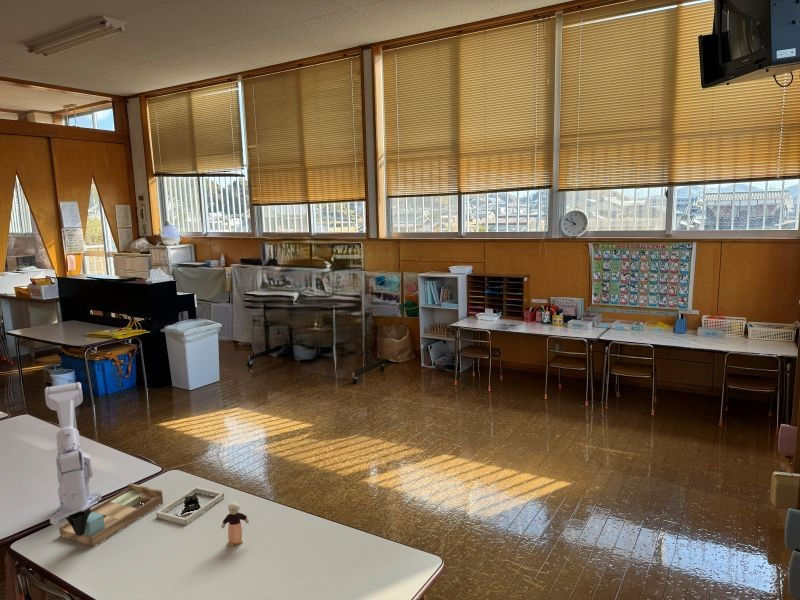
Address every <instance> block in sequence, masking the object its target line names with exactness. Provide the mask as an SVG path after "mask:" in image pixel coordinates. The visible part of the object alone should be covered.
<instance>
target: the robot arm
mask: <svg viewBox="0 0 800 600" xmlns="http://www.w3.org/2000/svg"><path fill="white" fill-rule="evenodd" d="M82 389H83V388H82V382H79V381H77V382H73V383H66V384H60V385H54V386H46V387H45V389H44V396H45V403H46V406H47V408H49V409H50V410H52V411H54V412H55V411H56V413H57V414H56V415H57V417H58V418H57V419H58V423H59V427H60V428H59V431H58V432H57V433H56V435H55V439H56V448H57V449H56V450H57V455H56V457H55V462H56V463H55V464H56V474H57V482H58V484H59V485H58V489H57V492H58V493H57V494H58V500H59V506H58V507H57V510H58V511H57V512H56V513H55V514H54V515H52V516H50V517H49V521H50V525H53V526H57V525H58V524H59V523H60V522H61V521H63V520H66V521H67V522H69V523H70V524H71V526H72V528H73V529H74V532H75V534H76V535H78V536H81V535H83V534H84V533H85V527H86V522H87V519H88V516H89V514H90V513H91V509H92V508H91V507H93V506H94V505H96V504H99V501H101V500H102V493H99V492H95V493H93V494H92V492H91V485H90V479H91V478H92V477H93V475H94V473H93V472H94V471H93V465H92V464H93V463H92V459H91V455H90V454H89V453H88V452H87V453H86V452H84V451H83V450H82V446H81V441H80V431H79V430H78V427H77V420H76V419H77V418H76V412H75V411H76V410H75V409H76V408H77V407H78V406H80V405H81V404H82V403H83V400H84V398H83V390H82Z"/></svg>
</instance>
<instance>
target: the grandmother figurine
mask: <svg viewBox="0 0 800 600" xmlns="http://www.w3.org/2000/svg"><path fill="white" fill-rule="evenodd" d="M240 508H241V506H240V504H239V503H238V502H236V501H232V502H230V503H229V504H228V506H227V510H228V511H229V513H228V514H227V515H226V516H225V518H224V519H223V520H222V524H221V526H220V527H221V529H225V528H226V525H227V524H228V527H227V531H228V532H227V535H228V536H227V537H228V538H227V539H228V541H227V543H226V547H231V546H233V545H241V544H243V543H244V541H243V529H242V528H243V527H242V521H244V522H245V524H249V523H250V520H249V519H248V515H247V514H244V513H242V512H239V510H240ZM241 520H242V521H241Z"/></svg>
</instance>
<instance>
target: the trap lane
mask: <svg viewBox="0 0 800 600" xmlns="http://www.w3.org/2000/svg"><path fill="white" fill-rule="evenodd" d="M127 486H128V488H126V489H124V490H123V491H121V492H120V493H117V494H116V495H114V496H112V497H110V498H109V499H107V500H105V501H104V502H102V503H100V504H98V505H96V506H95V507H93V508H90V509H91V513H92V512H95V513H99V514H102V515H103V517H104V525H105V528H104V529H103V530H101V531H100V532H98V533H96V534H95V535H93V536H87V535H84V534H83V535H81V536H78V535H76V534H75V532H74V529H73V528H72V526H71V524H70V523H69V522H68V521H67V522H65V523H64V524H62V525H61V526H59V527H58V530H59V535H61V536H64V537H67V538H70V539H73V540H72V541H74V540H75V541H74V542H77V541H78V543H80V542H82V543H81V544H83V543H85V544H84V545H86V544H88V545H87V546H90V545H92V546H91V547H93V546H94V547H96V546H97V545H96V544H98V543H99V544H101V543H102V542H104V541H105V540H107V539H108V537H109V536H110V537H112V536H113V535H115V534H116V533H115V532H117V531H118V532H120V531H121V530H123V529H124V528H126V527H127V525H128V524H129V525H130V523H131V524H132V523H134V522H135V520H136V519H137V520H139V519H140V518H141V516H142V517H144V516H145V515H147V514H148V513H150V512H151V511H153V510H154V509H156V508H157V507H156V506H158V505H159V504H161V503H162V502H163V503H164V498H163V491H162V490H159V489H156V488H153V487H148V486H144V485H140V484H135V483H132V482H130V483H129V484H128V485H127ZM140 502H141V504H140ZM142 503H144V505H143V504H142ZM163 503H162V504H163ZM162 504H161V505H162ZM159 506H160V505H159ZM159 506H158V507H159ZM155 507H156V508H155ZM153 508H154V509H153ZM152 509H153V510H152ZM150 510H151V511H150ZM149 511H150V512H149ZM147 512H148V513H147ZM146 513H147V514H146ZM144 514H145V515H144ZM139 517H140V518H139ZM138 518H139V519H138ZM137 520H136V521H137ZM133 521H134V522H133ZM129 525H128V526H129ZM125 526H126V527H125ZM123 527H124V528H123ZM122 528H123V529H122ZM120 529H121V530H120ZM119 530H120V531H119ZM118 532H117V533H118ZM114 533H115V534H114ZM112 534H113V535H112ZM111 535H112V536H111ZM61 536H60V537H61ZM64 537H63V538H64ZM110 537H109V538H110ZM67 538H66V539H67ZM106 538H107V539H106ZM70 539H69V540H70ZM104 539H105V540H104ZM103 540H104V541H103ZM101 541H102V542H101ZM100 542H101V543H100ZM99 544H98V545H99ZM95 545H96V546H95Z"/></svg>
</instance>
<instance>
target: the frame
mask: <svg viewBox="0 0 800 600" xmlns="http://www.w3.org/2000/svg"><path fill="white" fill-rule="evenodd" d="M195 492H199V493H204V494H208V495H213V496H217V497H213V498H212V499H211V500H210V501H208V502H206V505H204V506H203V507H201V508H200V509H198V510H197V511H196V512H194V513H191V514H189V515H188V516H187V517H186V518H185V517H182V516H179V517H178V515H173V514H170V513H168V512H170V511H171V510H172V509H171V508H173V507H174V506H176V505H177V504H179V503H180V502H182V501H183V500H184V499H185V497H188V496H191V495H192V494H193V493H195ZM199 493H198V494H199ZM195 494H196V493H195ZM204 494H203V495H204ZM208 495H207V496H208ZM223 497H224V498H225V494H224V493H223V492H219V491H215V490H212V489H207V488H202V487H198V486H195V487H193V488H192V489H190V490H188V491H187V492H185V493H184V494H183V495H181V496H180V497H178V498H176V499H175V500H173V501H172V502H170V503H169V504H166V505H165V506H163V507H162V508H160V509H159V510H158V511H156V512H155V513H156V518H157V517H158V518H157V519H161V520H165V521H170V522H173V523H176V524H179V525H184V526H187V525H188V524H190V523H191V522H193V521H195V520H196V519H197V518H199V517H200V516H201V515H202V513H203V512H204V511H205V512H207V511H208V510H210V509H211V508H212V507H214V506H215V505H216V504H215V503H216V502H218V501H219V500H221V499H222V498H223ZM222 500H223V499H222ZM222 500H221V501H222ZM183 502H184V501H183ZM183 502H182V503H183ZM219 502H220V501H219ZM219 502H218V503H219ZM180 504H181V503H180ZM180 504H179V505H180ZM214 504H215V505H214ZM213 505H214V506H213ZM177 506H178V505H177ZM177 506H176V507H177ZM211 506H212V507H211ZM210 507H211V508H210ZM174 508H175V507H174ZM174 508H173V509H174ZM209 508H210V509H209ZM170 509H171V510H170ZM207 509H208V510H207ZM169 510H170V511H169ZM206 510H207V511H206ZM167 511H168V512H167ZM205 512H204V513H205ZM204 513H203V514H204ZM200 514H201V515H200ZM199 515H200V516H199ZM195 518H196V519H195Z"/></svg>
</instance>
